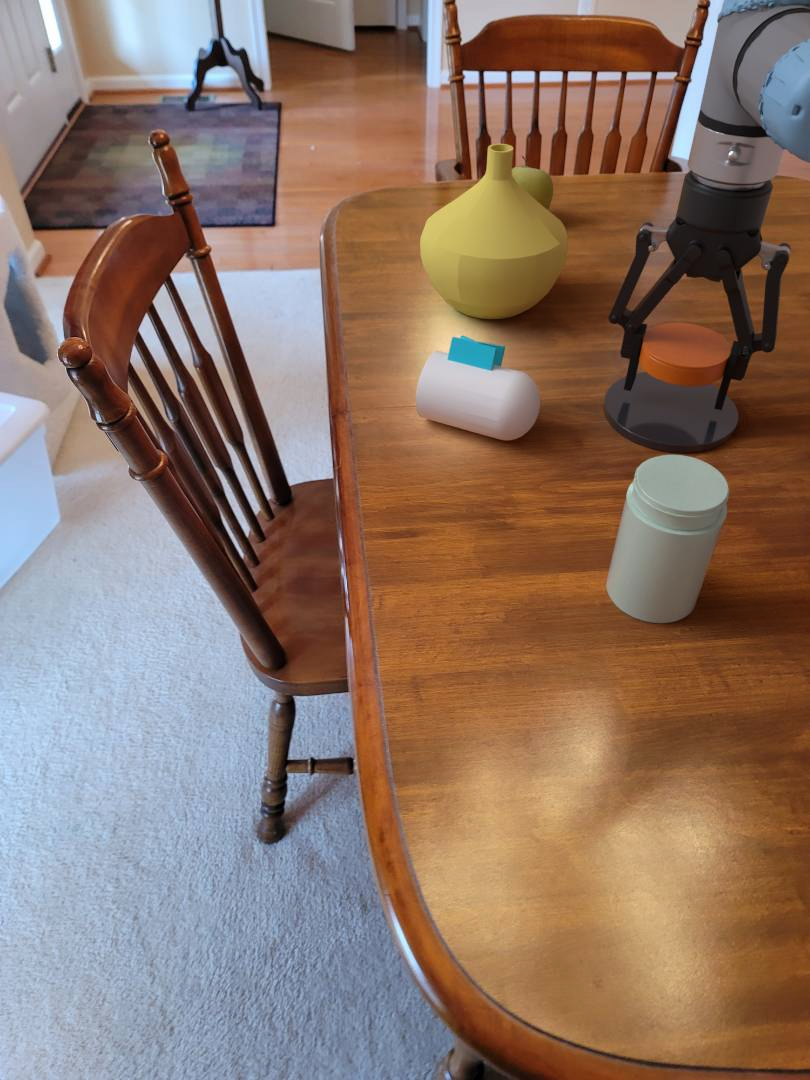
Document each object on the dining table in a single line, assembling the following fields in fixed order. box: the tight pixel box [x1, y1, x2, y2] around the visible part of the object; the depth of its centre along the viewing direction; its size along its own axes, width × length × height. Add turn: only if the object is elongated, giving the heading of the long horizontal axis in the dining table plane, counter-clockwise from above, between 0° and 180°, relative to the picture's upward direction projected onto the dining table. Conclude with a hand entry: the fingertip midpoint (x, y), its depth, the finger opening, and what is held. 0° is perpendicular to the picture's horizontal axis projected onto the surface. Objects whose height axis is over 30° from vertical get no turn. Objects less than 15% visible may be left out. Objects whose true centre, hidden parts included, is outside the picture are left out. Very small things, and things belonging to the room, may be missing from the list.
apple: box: [512, 155, 554, 211], centre depth 124 cm, size 8×8×10 cm
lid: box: [639, 322, 732, 386], centre depth 85 cm, size 9×9×2 cm
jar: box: [605, 454, 730, 624], centre depth 67 cm, size 8×8×12 cm
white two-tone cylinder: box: [415, 334, 541, 441], centre depth 88 cm, size 12×9×12 cm
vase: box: [419, 143, 569, 320], centre depth 102 cm, size 18×18×19 cm
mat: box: [603, 371, 739, 454], centre depth 90 cm, size 14×14×1 cm
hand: (673, 393), depth 89 cm, fingers closed on lid, 9 cm apart
